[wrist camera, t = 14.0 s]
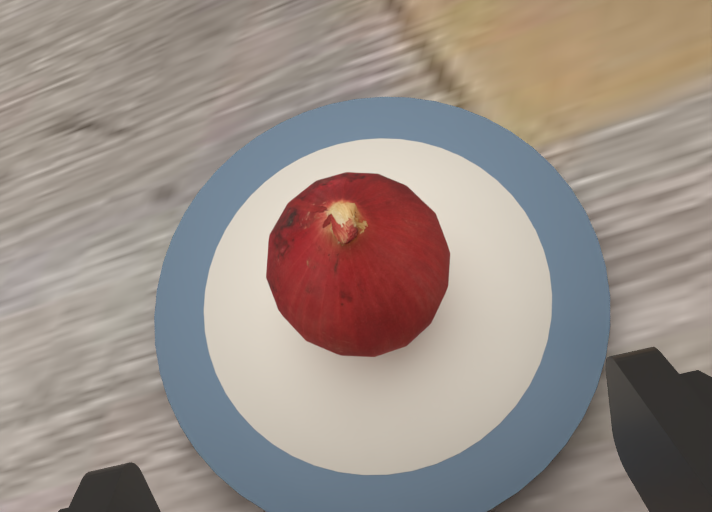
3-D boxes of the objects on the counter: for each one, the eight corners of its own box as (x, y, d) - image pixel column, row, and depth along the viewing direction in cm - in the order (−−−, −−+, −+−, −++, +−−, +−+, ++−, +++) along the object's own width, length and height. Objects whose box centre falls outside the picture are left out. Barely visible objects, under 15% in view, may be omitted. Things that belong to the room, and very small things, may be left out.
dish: (524, 78, 29) (529, 51, 28) (668, 478, 23) (686, 476, 22) (154, 173, 30) (136, 153, 29) (197, 581, 24) (177, 587, 22)
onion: (267, 334, 25) (188, 262, 18) (337, 204, 27) (292, 87, 19) (409, 403, 23) (387, 355, 16) (475, 260, 25) (483, 157, 18)
